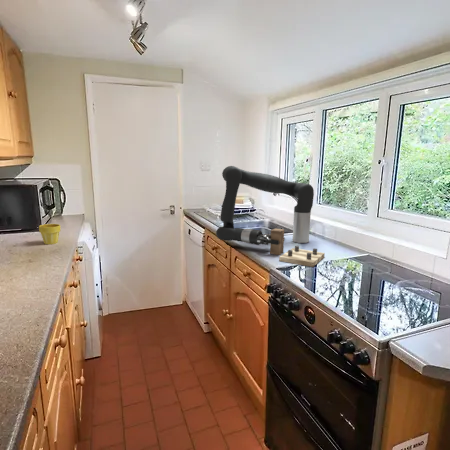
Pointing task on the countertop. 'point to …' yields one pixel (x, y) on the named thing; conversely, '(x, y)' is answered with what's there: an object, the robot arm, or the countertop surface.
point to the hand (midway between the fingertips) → (281, 241)
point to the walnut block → (279, 235)
